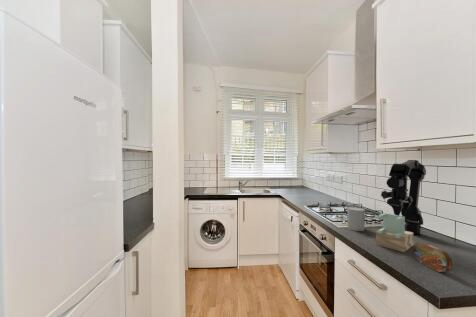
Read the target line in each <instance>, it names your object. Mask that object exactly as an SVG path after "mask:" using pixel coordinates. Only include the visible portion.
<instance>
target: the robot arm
mask: <svg viewBox="0 0 476 317" xmlns="http://www.w3.org/2000/svg"><path fill="white" fill-rule="evenodd" d="M426 174H427V170H426V167H425V165H423V164H422V163H420V161H419V160H418V159H417V160H416V159H408V160H407V161H404V162H401V163H393V164H392V165H391V167H390V171H389V174H388V176H389V177H388V179H386V185H387V187H388V188H390V189H391V191H387V190H384V191H383V190H382V192H381V193H380V197H382V199H383V200H385V199H386V204H387V205H388V206H389V207H391V208H392V210H393V215H399V216H404V217H405V231H409V232H413V233H414V235H415V236H416V235H417V236H422V235H423V234H422V233H421V226H423V225H424V218H423V216H422V214H421V213H422V212H421V210H420V207H419V197H420V189H421V182H422V181H423V180H424V179H425V176H426ZM408 179H409V180H410V183H409V188H408Z"/></svg>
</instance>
